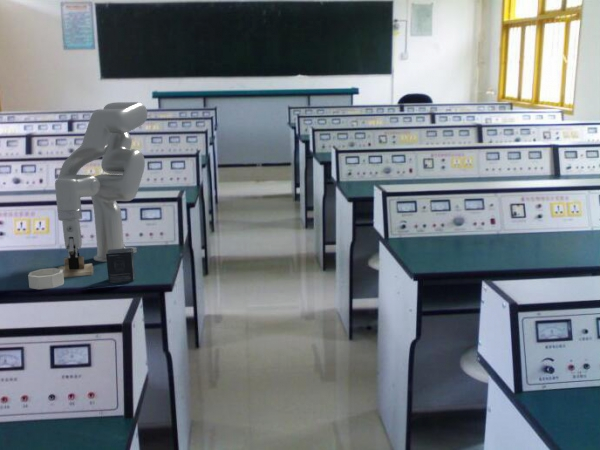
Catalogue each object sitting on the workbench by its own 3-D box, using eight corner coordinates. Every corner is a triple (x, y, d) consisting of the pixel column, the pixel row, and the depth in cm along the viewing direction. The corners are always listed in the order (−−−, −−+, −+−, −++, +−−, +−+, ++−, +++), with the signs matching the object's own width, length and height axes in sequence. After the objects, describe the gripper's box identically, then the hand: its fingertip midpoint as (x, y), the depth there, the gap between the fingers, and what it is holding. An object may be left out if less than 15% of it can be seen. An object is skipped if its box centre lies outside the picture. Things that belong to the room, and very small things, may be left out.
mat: (94, 267, 218) (94, 266, 218) (93, 276, 207) (93, 275, 207) (57, 271, 215) (57, 269, 215) (55, 280, 204) (55, 278, 204)
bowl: (64, 280, 204) (63, 267, 203) (62, 288, 194) (61, 274, 193) (32, 283, 201) (30, 270, 200) (28, 292, 191) (27, 278, 190)
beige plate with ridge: (92, 266, 218) (91, 252, 217) (91, 274, 207) (90, 259, 206) (59, 269, 214) (57, 255, 213) (56, 278, 204) (55, 262, 203)
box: (135, 278, 204) (132, 247, 202) (133, 283, 199) (131, 251, 197) (110, 280, 203) (108, 248, 201) (108, 285, 197) (105, 253, 195)
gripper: (80, 218, 200) (85, 272, 204) (82, 209, 216) (87, 259, 220) (56, 219, 198) (61, 274, 201) (59, 211, 214) (64, 261, 217)
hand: (74, 266), depth 210 cm, fingers open, 5 cm apart
